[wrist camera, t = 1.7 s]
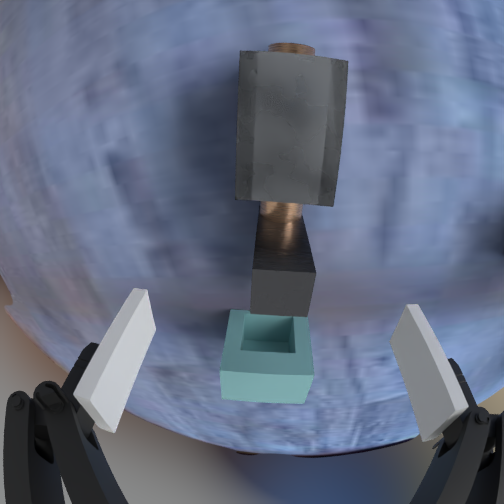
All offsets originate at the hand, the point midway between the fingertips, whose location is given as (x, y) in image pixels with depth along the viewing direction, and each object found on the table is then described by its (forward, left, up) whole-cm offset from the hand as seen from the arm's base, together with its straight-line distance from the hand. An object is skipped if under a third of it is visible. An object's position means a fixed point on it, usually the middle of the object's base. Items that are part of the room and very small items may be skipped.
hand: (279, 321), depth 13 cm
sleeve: (-8, 0, -12) cm, 15 cm away
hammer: (-4, 0, -11) cm, 11 cm away
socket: (+13, 0, -12) cm, 18 cm away
